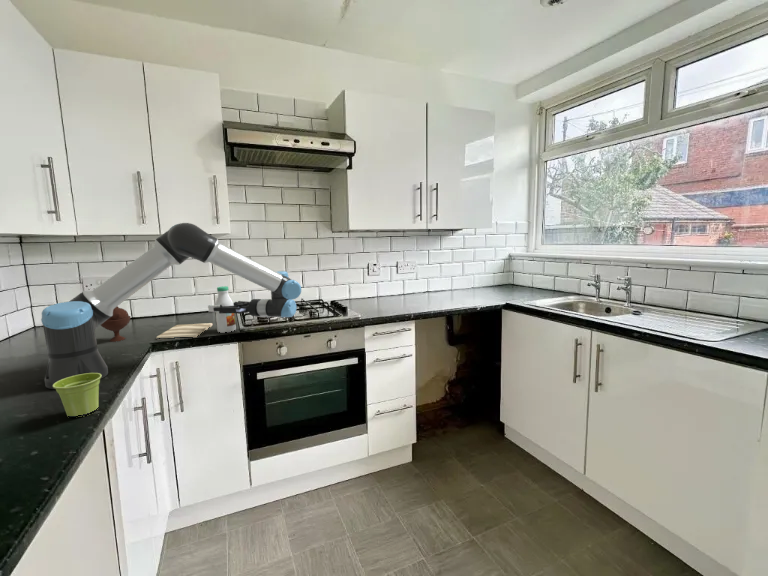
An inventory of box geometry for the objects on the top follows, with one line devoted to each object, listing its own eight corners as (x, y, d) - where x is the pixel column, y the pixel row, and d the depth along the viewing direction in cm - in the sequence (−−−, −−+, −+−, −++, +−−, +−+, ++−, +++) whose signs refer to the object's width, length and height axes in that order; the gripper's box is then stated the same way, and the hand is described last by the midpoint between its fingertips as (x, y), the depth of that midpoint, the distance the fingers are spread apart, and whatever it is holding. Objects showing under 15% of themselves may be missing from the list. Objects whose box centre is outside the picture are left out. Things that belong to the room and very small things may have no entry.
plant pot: (49, 418, 91) (43, 384, 90) (91, 401, 100) (86, 370, 98) (74, 424, 88) (68, 389, 86) (115, 406, 96) (110, 374, 95)
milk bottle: (220, 334, 163) (216, 288, 160) (215, 331, 169) (210, 287, 165) (238, 330, 168) (234, 286, 165) (232, 327, 174) (228, 285, 170)
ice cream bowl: (96, 345, 152) (91, 308, 149) (108, 337, 162) (103, 303, 160) (126, 342, 155) (121, 306, 152) (136, 335, 165) (132, 301, 163)
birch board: (196, 337, 159) (196, 334, 159) (156, 339, 157) (156, 336, 157) (212, 325, 179) (212, 323, 179) (177, 327, 177) (176, 324, 177)
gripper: (248, 321, 153) (200, 320, 159) (273, 311, 173) (229, 310, 178) (246, 303, 152) (198, 302, 157) (272, 295, 171) (228, 294, 177)
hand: (215, 306), depth 168 cm, fingers closed on milk bottle, 7 cm apart
